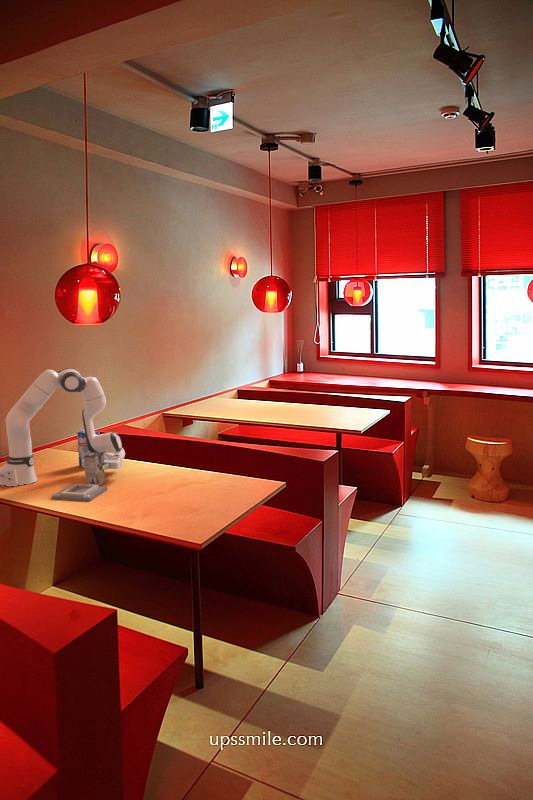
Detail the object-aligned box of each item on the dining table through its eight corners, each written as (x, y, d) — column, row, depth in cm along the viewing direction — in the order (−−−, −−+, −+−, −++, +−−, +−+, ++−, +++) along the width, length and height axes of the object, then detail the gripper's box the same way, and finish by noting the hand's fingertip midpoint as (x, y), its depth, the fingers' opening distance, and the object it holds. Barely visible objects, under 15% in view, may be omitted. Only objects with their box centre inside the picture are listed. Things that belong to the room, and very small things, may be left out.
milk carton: (79, 466, 349) (77, 432, 346) (85, 463, 355) (83, 430, 352) (94, 468, 346) (92, 433, 343) (100, 465, 352) (98, 431, 349)
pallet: (51, 498, 293) (51, 493, 292) (70, 487, 310) (70, 482, 310) (90, 501, 289) (90, 495, 288) (107, 489, 306) (107, 484, 306)
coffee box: (93, 481, 320) (92, 451, 317) (105, 482, 319) (103, 452, 316) (85, 486, 311) (83, 456, 308) (97, 487, 310) (95, 456, 307)
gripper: (88, 454, 328) (75, 460, 315) (124, 455, 324) (112, 462, 311) (89, 465, 329) (76, 472, 316) (124, 467, 325) (113, 474, 312)
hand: (94, 467), depth 313 cm, fingers closed on coffee box, 6 cm apart
